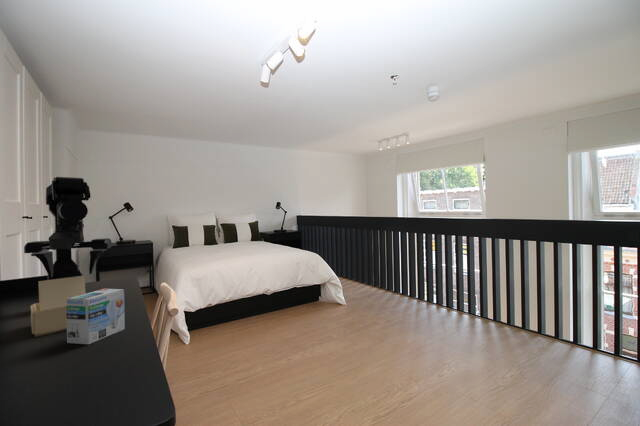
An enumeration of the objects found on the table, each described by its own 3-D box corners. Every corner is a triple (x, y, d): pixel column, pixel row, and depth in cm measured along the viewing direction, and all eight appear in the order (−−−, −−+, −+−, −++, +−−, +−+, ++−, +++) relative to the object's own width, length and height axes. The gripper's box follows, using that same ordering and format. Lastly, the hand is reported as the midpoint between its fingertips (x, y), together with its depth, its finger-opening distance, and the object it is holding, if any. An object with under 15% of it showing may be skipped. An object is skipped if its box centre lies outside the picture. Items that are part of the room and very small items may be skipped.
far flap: (38, 281, 81) (38, 281, 81) (83, 276, 88) (84, 275, 87) (39, 311, 78) (39, 310, 78) (86, 303, 85) (86, 302, 85)
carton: (30, 325, 87) (30, 304, 87) (85, 314, 95) (85, 295, 96) (32, 337, 77) (31, 313, 77) (93, 324, 86) (92, 302, 86)
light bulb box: (88, 345, 71) (87, 299, 71) (65, 343, 73) (64, 298, 73) (126, 328, 82) (125, 288, 82) (105, 327, 83) (104, 287, 83)
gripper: (12, 222, 76) (13, 285, 76) (101, 220, 84) (102, 277, 84) (33, 221, 87) (34, 276, 87) (111, 220, 94) (112, 270, 94)
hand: (71, 275), depth 88 cm, fingers open, 9 cm apart
